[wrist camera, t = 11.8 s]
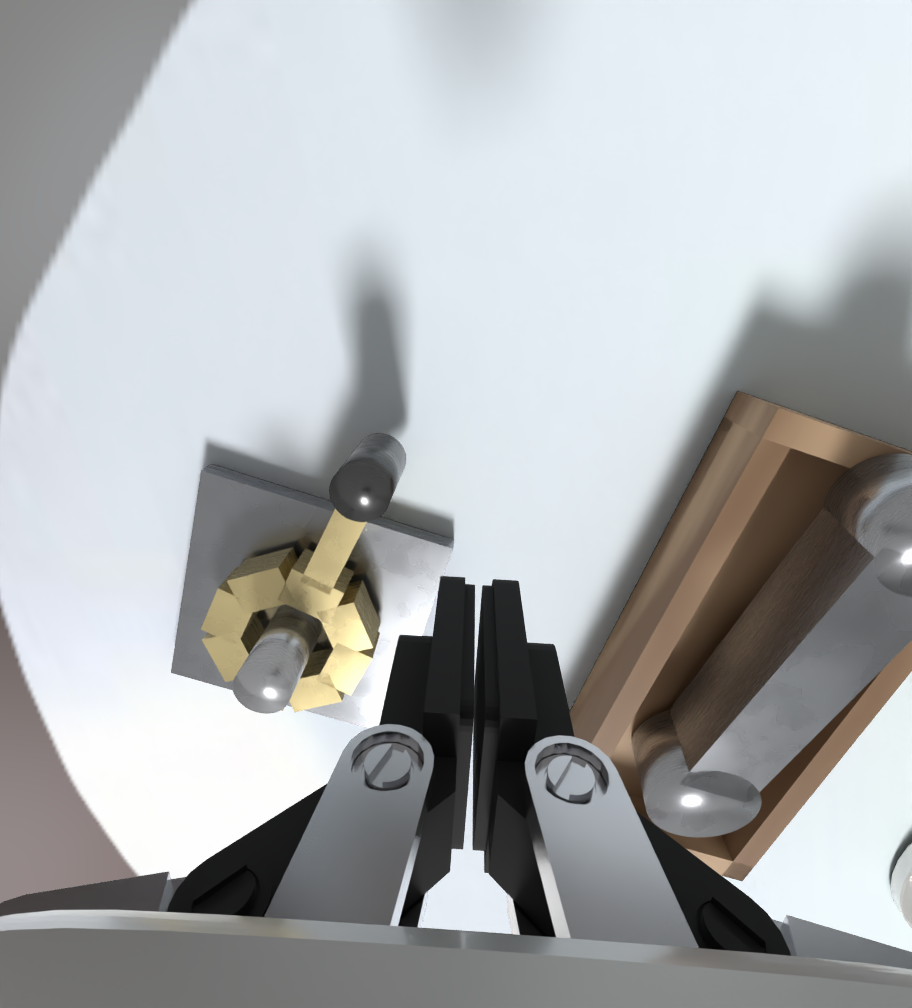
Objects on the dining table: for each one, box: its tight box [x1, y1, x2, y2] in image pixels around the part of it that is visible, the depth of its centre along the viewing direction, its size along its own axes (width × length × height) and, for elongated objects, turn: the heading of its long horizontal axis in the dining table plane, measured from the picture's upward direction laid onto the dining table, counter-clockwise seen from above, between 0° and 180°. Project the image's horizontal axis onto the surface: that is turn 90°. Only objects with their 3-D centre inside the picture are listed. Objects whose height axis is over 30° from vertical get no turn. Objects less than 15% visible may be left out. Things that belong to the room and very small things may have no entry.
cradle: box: [570, 391, 912, 881], centre depth 26 cm, size 11×23×4 cm, turn 162°
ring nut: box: [201, 433, 406, 712], centre depth 24 cm, size 14×8×4 cm, turn 152°
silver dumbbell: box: [632, 453, 912, 838], centre depth 24 cm, size 20×5×4 cm, turn 163°
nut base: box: [171, 464, 454, 728], centre depth 25 cm, size 12×12×6 cm
